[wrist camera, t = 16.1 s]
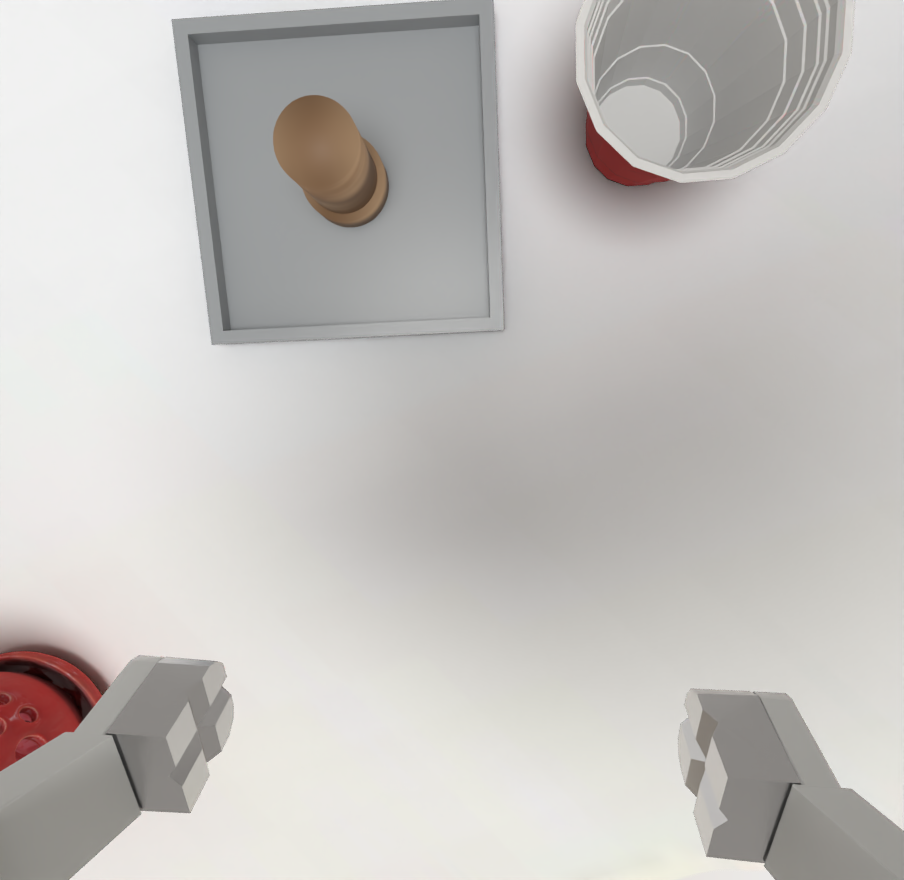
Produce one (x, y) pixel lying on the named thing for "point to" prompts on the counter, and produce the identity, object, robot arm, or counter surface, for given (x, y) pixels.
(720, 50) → the plastic cup
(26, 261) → the counter surface
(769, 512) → the counter surface
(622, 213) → the counter surface
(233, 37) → the grey tray
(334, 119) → the walnut pestle
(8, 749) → the plant pot
